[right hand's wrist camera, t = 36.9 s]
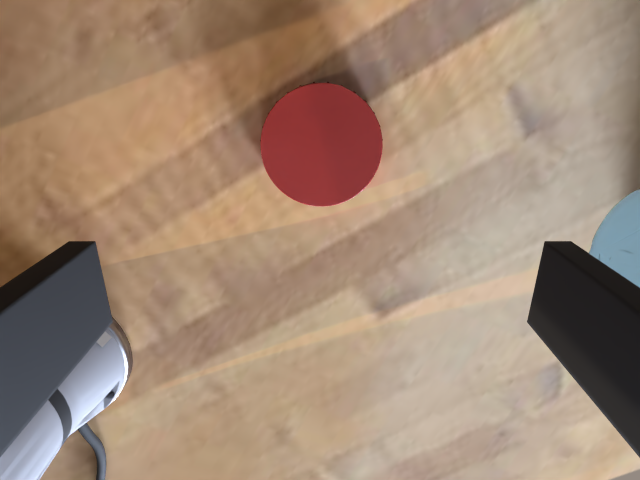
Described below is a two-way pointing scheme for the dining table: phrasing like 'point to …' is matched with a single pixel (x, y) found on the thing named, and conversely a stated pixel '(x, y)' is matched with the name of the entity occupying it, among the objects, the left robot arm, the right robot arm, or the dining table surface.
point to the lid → (321, 144)
